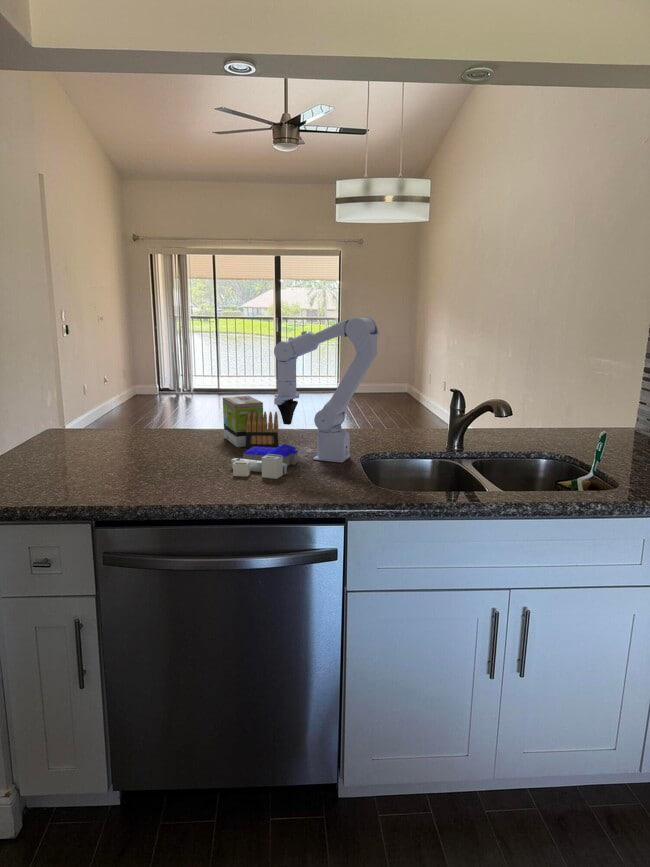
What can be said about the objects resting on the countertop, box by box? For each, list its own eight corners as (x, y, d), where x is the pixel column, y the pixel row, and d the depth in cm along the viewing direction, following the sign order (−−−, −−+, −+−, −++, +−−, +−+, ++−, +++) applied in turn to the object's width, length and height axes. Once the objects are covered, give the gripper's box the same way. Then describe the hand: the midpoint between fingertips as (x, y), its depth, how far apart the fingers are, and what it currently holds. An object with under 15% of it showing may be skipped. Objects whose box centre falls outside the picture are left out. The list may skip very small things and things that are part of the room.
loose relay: (250, 473, 162) (249, 460, 161) (247, 476, 159) (247, 463, 158) (235, 473, 162) (235, 460, 162) (233, 476, 160) (232, 463, 159)
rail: (287, 473, 163) (286, 462, 162) (284, 474, 161) (284, 464, 160) (234, 467, 168) (234, 457, 168) (231, 468, 166) (231, 459, 166)
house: (292, 469, 168) (292, 451, 167) (242, 466, 170) (242, 448, 169) (301, 459, 178) (301, 442, 177) (254, 456, 181) (254, 439, 180)
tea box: (223, 438, 204) (221, 396, 201) (250, 435, 209) (249, 394, 206) (236, 447, 191) (234, 403, 188) (264, 444, 196) (264, 401, 192)
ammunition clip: (245, 447, 190) (245, 410, 190) (246, 447, 191) (246, 411, 192) (278, 448, 189) (278, 411, 189) (278, 447, 191) (279, 411, 191)
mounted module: (282, 474, 161) (282, 454, 159) (276, 478, 157) (276, 458, 156) (268, 473, 162) (268, 453, 161) (261, 477, 158) (261, 456, 157)
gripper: (284, 377, 187) (285, 419, 190) (264, 382, 174) (265, 427, 177) (305, 378, 185) (305, 420, 188) (286, 384, 172) (286, 429, 175)
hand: (287, 424), depth 182 cm, fingers closed
